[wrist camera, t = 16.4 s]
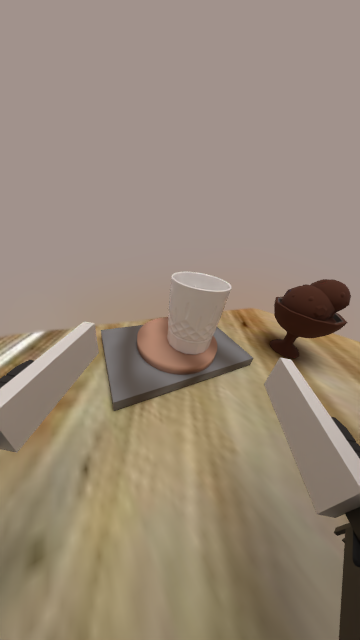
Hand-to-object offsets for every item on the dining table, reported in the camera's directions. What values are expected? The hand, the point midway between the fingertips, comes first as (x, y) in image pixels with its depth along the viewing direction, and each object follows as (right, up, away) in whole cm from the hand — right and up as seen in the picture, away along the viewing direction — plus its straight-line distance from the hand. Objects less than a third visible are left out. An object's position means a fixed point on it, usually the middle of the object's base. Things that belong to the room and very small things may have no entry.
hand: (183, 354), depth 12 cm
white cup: (+1, -1, +15) cm, 15 cm away
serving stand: (-1, -3, +16) cm, 17 cm away
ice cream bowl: (+21, -4, +22) cm, 31 cm away
